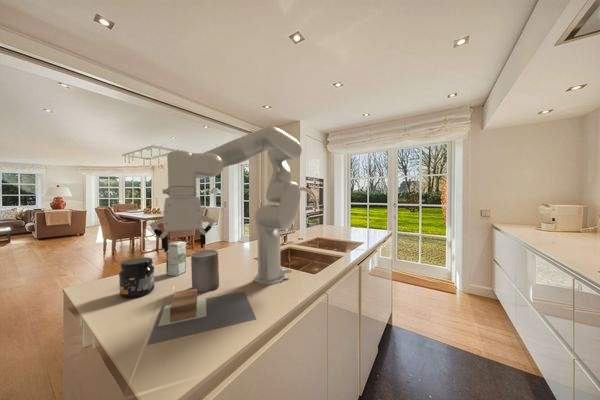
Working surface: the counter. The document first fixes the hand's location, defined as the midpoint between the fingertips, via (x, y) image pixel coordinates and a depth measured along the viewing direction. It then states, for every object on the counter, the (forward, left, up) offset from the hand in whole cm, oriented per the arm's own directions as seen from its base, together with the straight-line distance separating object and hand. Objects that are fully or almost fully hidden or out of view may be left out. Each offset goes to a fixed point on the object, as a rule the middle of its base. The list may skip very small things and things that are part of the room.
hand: (184, 248), depth 67 cm
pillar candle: (-6, -17, -20) cm, 27 cm away
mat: (-6, +4, -20) cm, 21 cm away
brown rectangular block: (0, 0, -19) cm, 19 cm away
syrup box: (+6, -40, -20) cm, 45 cm away
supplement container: (+17, -23, -20) cm, 35 cm away
